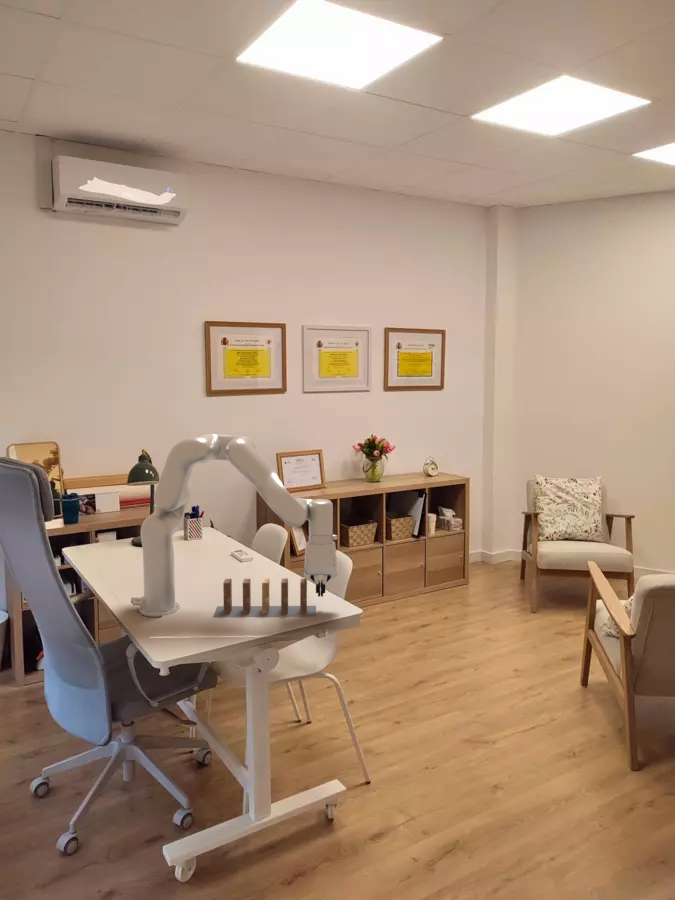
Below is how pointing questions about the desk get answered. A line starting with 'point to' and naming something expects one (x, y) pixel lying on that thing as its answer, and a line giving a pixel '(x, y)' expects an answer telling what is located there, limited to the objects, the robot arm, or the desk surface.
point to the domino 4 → (284, 596)
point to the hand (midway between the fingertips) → (320, 595)
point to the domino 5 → (303, 596)
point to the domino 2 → (246, 596)
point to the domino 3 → (265, 596)
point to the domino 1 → (227, 595)
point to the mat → (257, 612)
